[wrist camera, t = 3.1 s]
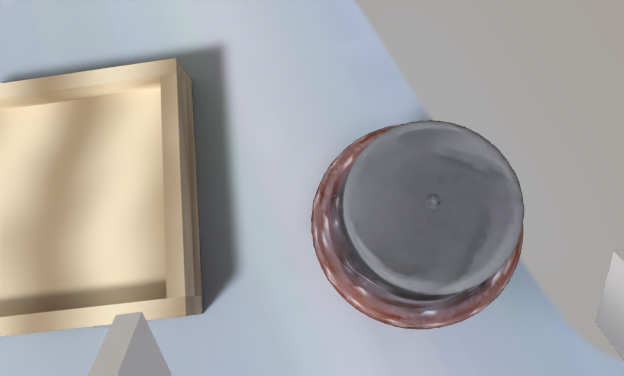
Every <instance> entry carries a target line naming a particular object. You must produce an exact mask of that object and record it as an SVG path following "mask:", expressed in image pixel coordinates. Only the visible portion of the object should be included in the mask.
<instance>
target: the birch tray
mask: <svg viewBox="0 0 624 376" xmlns="http://www.w3.org/2000/svg"><path fill="white" fill-rule="evenodd" d="M135 312H142V313H143V315H144V317H145V319H146V320H154V319H163V318H172V317H181V316H189V315H197V314H203V305H202V284H201V263H200V242H199V221H198V200H197V179H196V158H195V137H194V116H193V95H192V79H191V78H190V76H189V75H188V74H187V72H186V71H185V70H184V68H183V67H182V66H181V64H180V63H179V62H178V60H177V59H176V58H173V59H166V60H159V61H152V62H145V63H138V64H131V65H124V66H117V67H111V68H104V69H97V70H90V71H83V72H76V73H69V74H62V75H55V76H48V77H41V78H35V79H28V80H21V81H14V82H7V83H0V336H8V335H17V334H26V333H36V332H45V331H54V330H63V329H72V328H81V327H90V326H99V325H108V324H112V322H113V320H114V318H115V316H116V315H119V314H127V313H135Z"/></svg>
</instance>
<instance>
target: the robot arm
mask: <svg viewBox="0 0 624 376" xmlns="http://www.w3.org/2000/svg"><path fill="white" fill-rule="evenodd" d="M595 323H596V324H597V325H598V327H599V328H600V329H601V331H602V332H603V333H604V335H605V336H606V337H607V339H608V340H609V342H610V343H611V344H612V346H613V347H614V348H615V349H616V351H617V352H618V354H619V355H620V356H621V358H622V359H623V360H624V250H621V251H614V252H613V256H612V260H611V263H610V267H609V271H608V275H607V279H606V282H605V286H604V290H603V294H602V298H601V302H600V306H599V309H598V313H597V317H596V321H595ZM88 376H171V372H170V370H169V368H168V366H167V364H166V362H165V359H164V357H163V355H162V353H161V351H160V349H159V347H158V345H157V342H156V340H155V338H154V336H153V334H152V332H151V330H150V328H149V325H148V323H147V321H146V319H145V317H144V315H143V313H142V312H135V313H127V314H119V315H116V316H115V318H114V320H113V322H112V324H111V326H110V329H109V331H108V333H107V335H106V337H105V340H104V342H103V344H102V346H101V348H100V350H99V353H98V355H97V357H96V359H95V361H94V364H93V366H92V368H91V370H90V372H89V374H88Z"/></svg>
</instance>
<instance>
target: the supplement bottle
mask: <svg viewBox="0 0 624 376" xmlns="http://www.w3.org/2000/svg"><path fill="white" fill-rule="evenodd" d="M523 218H524V204H523V197H522V192H521V188H520V184H519V181H518V178H517V176H516V174H515V172H514V170H513V169H512V168H511V166H510V164H509V162H508V161H507V160H506V158H505V157H504V156H503V155H502V153H501V152H500V151H499V150H498V149H497V148H496V147H495V146H494V145H492V144H491V143H490V142H489V141H488V140H487V139H485V138H484V137H482V136H481V135H479V134H478V133H476V132H474V131H472V130H470V129H468V128H465V127H463V126H460V125H456V124H453V123H448V122H441V121H432V120H431V121H418V122H410V123H406V124H400V125H394V126H389V127H385V128H382V129H379V130H377V131H374V132H371V133H369V134H367V135H365V136H363V137H361V138H360V139H358V140H356V141H355V142H353V143H352V144H351V145H349V146H348V147H347V148H346V149H345V150H344V151H343V152H342V153H341V154H340V155H339V156H338V157H337V158H336V159H335V160H334V161H333V162H332V163H331V165H330V167H329V168H328V170H327V171H326V173H325V174H324V176H323V179H322V181H321V182H320V185H319V187H318V190H317V192H316V196H315V198H314V200H313V210H312V218H311V222H312V235H313V246H314V248H315V252H316V255H317V258H318V260H319V262H320V265H321V267H322V269H323V271H324V273H325V275H326V277H327V279H328V280H329V281H330V283H331V284H332V285H333V287H334V288H335V289H336V290H337V292H338V293H339V294H340V295H341V296H342V297H343V298H344V299H345V300H346V301H347V302H348V303H350V304H351V305H352V306H353V307H355V308H356V309H357V310H359V311H360V312H362V313H364V314H365V315H367V316H369V317H371V318H373V319H375V320H377V321H380V322H383V323H385V324H389V325H393V326H395V327H400V328H407V329H431V328H440V327H443V326H448V325H452V324H455V323H458V322H461V321H463V320H465V319H467V318H469V317H471V316H473V315H475V314H477V313H479V312H480V311H482V310H483V309H484V308H485V307H486V306H488V305H489V304H490V303H491V302H492V301H493V300H494V299H496V298H497V297H498V296H499V295H500V293H501V292H502V291H503V290H504V288H505V286H506V285H507V284H508V282H509V280H510V278H511V277H512V275H513V273H514V271H515V268H516V266H517V263H518V261H519V257H520V253H521V249H522V243H523Z"/></svg>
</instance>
